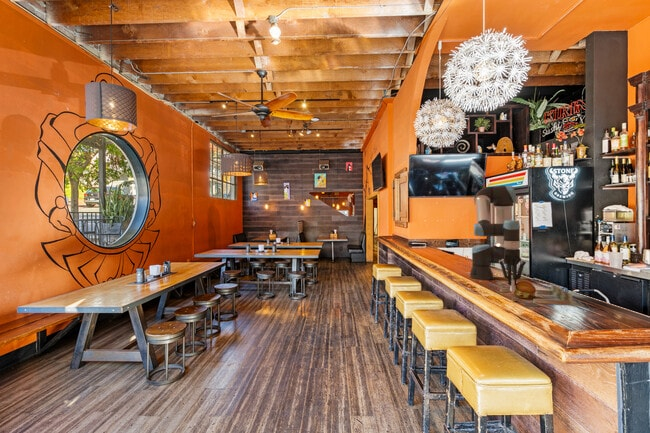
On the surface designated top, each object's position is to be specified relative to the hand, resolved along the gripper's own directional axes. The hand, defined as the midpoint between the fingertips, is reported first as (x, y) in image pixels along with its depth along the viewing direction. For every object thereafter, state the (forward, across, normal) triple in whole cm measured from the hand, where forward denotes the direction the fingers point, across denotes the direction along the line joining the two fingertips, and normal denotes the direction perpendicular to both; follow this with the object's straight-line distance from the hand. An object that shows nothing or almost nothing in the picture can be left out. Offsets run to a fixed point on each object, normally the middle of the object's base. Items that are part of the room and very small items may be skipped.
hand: (512, 291), depth 166 cm
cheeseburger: (+3, +6, 0) cm, 7 cm away
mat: (+3, +4, -14) cm, 15 cm away
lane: (+3, +10, 0) cm, 10 cm away
